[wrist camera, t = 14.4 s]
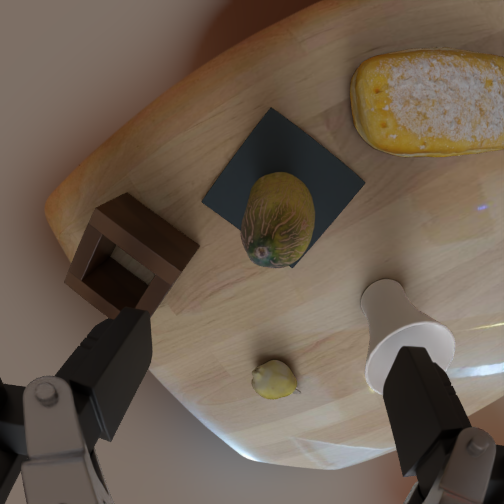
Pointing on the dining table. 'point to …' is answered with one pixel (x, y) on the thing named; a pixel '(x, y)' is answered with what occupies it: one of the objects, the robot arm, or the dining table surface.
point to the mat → (289, 161)
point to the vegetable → (277, 220)
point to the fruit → (274, 380)
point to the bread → (430, 102)
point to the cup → (399, 331)
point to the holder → (136, 245)
